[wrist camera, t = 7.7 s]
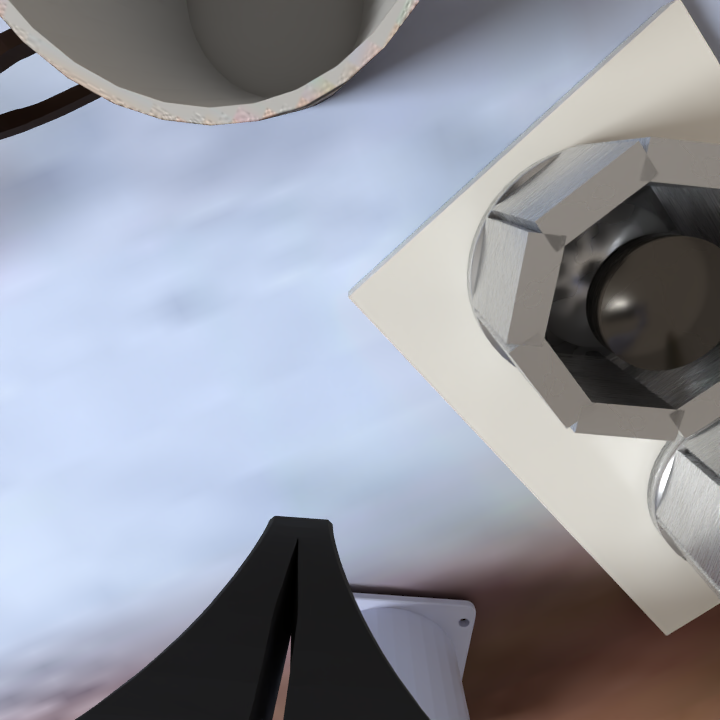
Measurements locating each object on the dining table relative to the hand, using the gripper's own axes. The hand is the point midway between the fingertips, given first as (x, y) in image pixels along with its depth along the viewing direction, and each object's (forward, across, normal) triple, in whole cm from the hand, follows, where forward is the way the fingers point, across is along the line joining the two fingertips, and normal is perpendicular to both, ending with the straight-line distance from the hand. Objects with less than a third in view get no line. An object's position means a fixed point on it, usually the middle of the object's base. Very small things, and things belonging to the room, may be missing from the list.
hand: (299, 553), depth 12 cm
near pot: (+9, -10, -6) cm, 15 cm away
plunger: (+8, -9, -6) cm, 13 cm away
